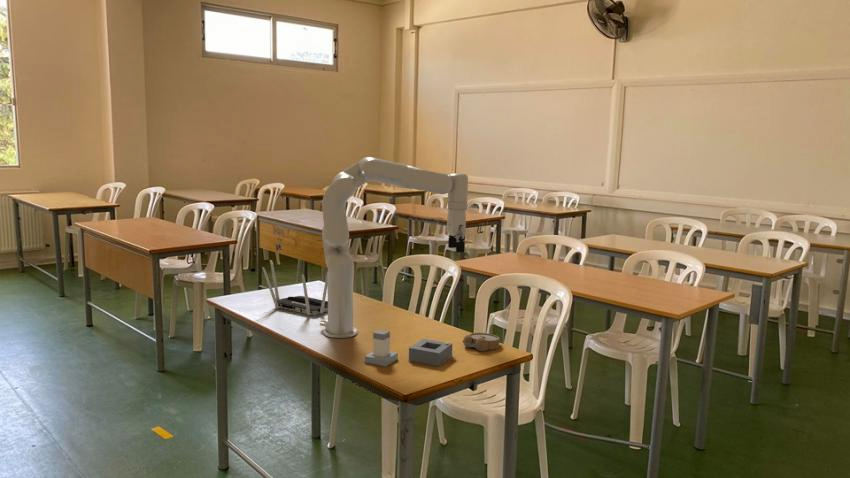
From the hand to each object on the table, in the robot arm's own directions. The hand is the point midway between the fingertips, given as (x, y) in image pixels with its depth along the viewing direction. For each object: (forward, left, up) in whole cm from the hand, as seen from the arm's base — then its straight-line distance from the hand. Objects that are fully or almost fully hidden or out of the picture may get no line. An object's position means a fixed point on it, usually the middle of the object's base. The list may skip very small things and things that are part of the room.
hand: (456, 249), depth 244 cm
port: (+7, -37, -31) cm, 48 cm away
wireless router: (-66, -9, -31) cm, 74 cm away
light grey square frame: (-6, -47, -31) cm, 56 cm away
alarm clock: (+18, -17, -32) cm, 40 cm away
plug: (-6, -47, -31) cm, 56 cm away
